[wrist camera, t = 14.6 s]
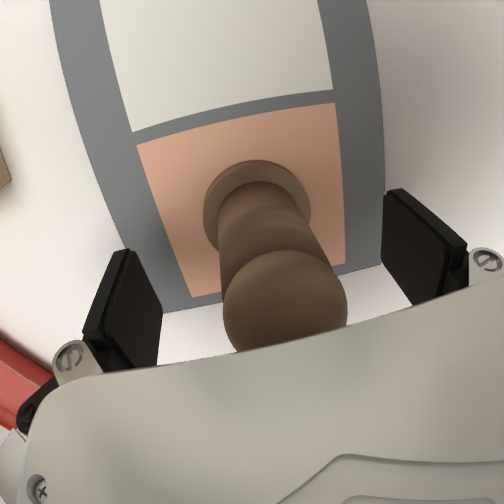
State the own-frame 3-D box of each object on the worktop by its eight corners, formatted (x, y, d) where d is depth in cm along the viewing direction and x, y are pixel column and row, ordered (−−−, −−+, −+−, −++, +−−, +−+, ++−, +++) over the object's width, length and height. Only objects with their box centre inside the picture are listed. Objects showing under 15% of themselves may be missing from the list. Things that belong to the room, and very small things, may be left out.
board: (293, -171, 1) (294, -173, 1) (378, 261, 17) (381, 264, 16) (49, -119, 1) (47, -122, 1) (159, 311, 17) (158, 315, 16)
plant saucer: (-39, 288, 15) (-59, 316, 12) (134, 402, 23) (131, 434, 20) (-47, 365, 20) (-56, 386, 17) (69, 437, 28) (65, 458, 26)
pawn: (298, 150, 12) (400, 262, 6) (309, 240, 15) (376, 380, 8) (191, 173, 12) (169, 316, 6) (217, 261, 15) (228, 417, 8)
